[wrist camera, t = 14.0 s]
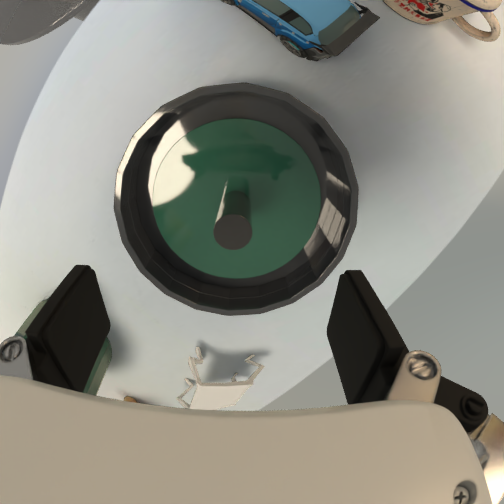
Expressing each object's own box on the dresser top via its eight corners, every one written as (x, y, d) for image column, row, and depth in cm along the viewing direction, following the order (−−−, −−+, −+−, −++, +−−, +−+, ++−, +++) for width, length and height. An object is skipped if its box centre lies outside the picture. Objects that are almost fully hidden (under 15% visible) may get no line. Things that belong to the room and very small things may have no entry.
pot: (34, 348, 33) (9, 391, 25) (39, 265, 26) (-7, 314, 18) (100, 387, 36) (83, 435, 28) (127, 318, 30) (98, 382, 21)
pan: (106, 233, 25) (87, 252, 21) (197, 51, 18) (188, 39, 14) (266, 315, 30) (269, 342, 26) (380, 170, 23) (401, 181, 19)
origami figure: (205, 325, 30) (199, 359, 26) (267, 355, 32) (269, 388, 28) (161, 377, 34) (154, 406, 30) (215, 399, 37) (213, 428, 32)
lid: (132, 227, 24) (102, 263, 18) (206, 87, 19) (190, 77, 13) (261, 294, 28) (264, 343, 22) (348, 178, 23) (381, 201, 17)
